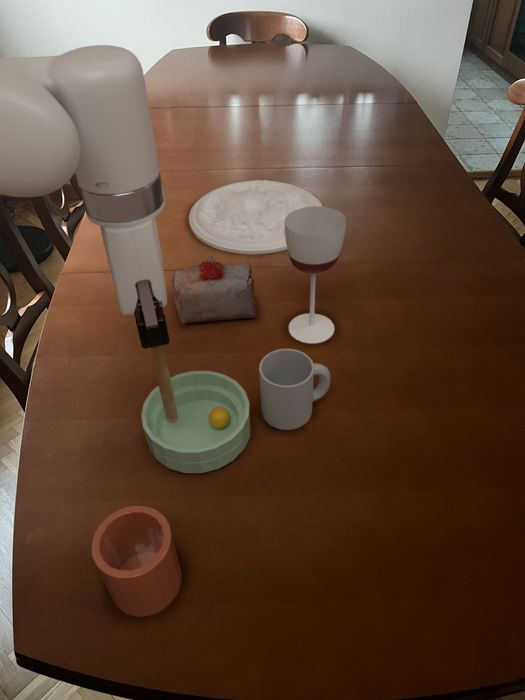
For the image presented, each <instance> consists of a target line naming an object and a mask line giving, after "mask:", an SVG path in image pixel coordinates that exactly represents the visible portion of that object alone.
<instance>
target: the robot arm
mask: <svg viewBox="0 0 525 700" xmlns="http://www.w3.org/2000/svg"><path fill="white" fill-rule="evenodd" d="M144 74H145V73H144V69H143V67H142V64H141V61H140V60H139V58H138V57H137V55H136V54H135V53H134V52H132V51H131V50H129V49H127V48H125V47H121V46H117V45H108V44H97V45H95V44H94V45H88V46H82V47H78V48H74V49H71V50H69V51H66V52H64V53H62V54H58V55H49V56H25V57H22V56H21V57H20V56H18V57H16V56H15V57H0V196H5V197H6V196H7V197H14V198H36V197H42V196H46V195H49V194H52V193H54V192H56V191H58V190H60V189H61V188H63V186H65V185H66V184H67V183H68V182H69V181H70V180H71V178H73V176H74V175H75V178H76V182H77V186H78V189H79V192H80V196H81V201H82V203H83V207H84V211H85V214H86V215H85V216H86V217H87V219H88V220H89V221H90V222H91V223H92V224H94V225H97V226H99V227H100V232H101V237H102V242H103V245H104V250H105V254H106V258H107V262H108V266H109V270H110V274H111V278H112V282H113V286H114V289H115V293H116V299H117V302H118V307H119V310H120V313H121V314H122V316H125V317H128V316H131V315H134V319H135V324H136V329H137V333H138V337H139V341H140V345H141V348H142V349H144V350H145V349H146V350H147V349H150V348H152V347H156V346H161V345H164V346H165V345H168V344H170V342H171V340H170V335H169V329H168V325H167V320H166V314H165V312H164V309H165V308H166V306H167V305H168V295H167V294H168V293H167V285H166V276H165V269H164V263H163V256H162V249H161V242H160V237H159V231H158V225H157V219H156V218H157V216H159V215H160V214H161V213H162V212H163V211H164V208H165V206H166V200H165V193H164V187H163V182H162V176H161V171H160V164H159V158H158V152H157V145H156V139H155V134H154V128H153V123H152V122H153V121H152V117H151V109H150V104H149V98H148V91H147V87H146V80H145V75H144ZM154 305H155V306H156V309H155V308H154ZM141 308H142V310H143V311H141Z"/></svg>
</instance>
